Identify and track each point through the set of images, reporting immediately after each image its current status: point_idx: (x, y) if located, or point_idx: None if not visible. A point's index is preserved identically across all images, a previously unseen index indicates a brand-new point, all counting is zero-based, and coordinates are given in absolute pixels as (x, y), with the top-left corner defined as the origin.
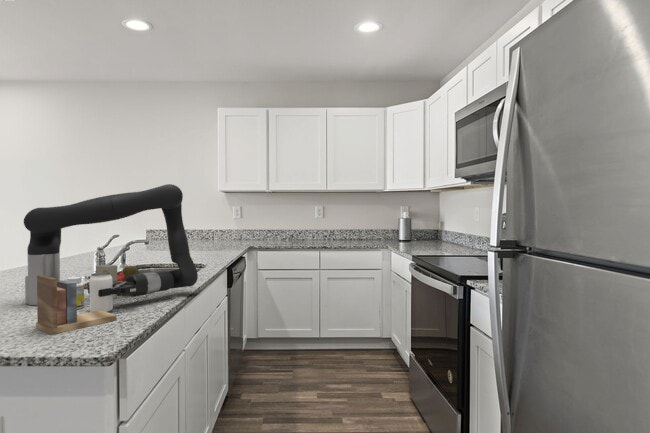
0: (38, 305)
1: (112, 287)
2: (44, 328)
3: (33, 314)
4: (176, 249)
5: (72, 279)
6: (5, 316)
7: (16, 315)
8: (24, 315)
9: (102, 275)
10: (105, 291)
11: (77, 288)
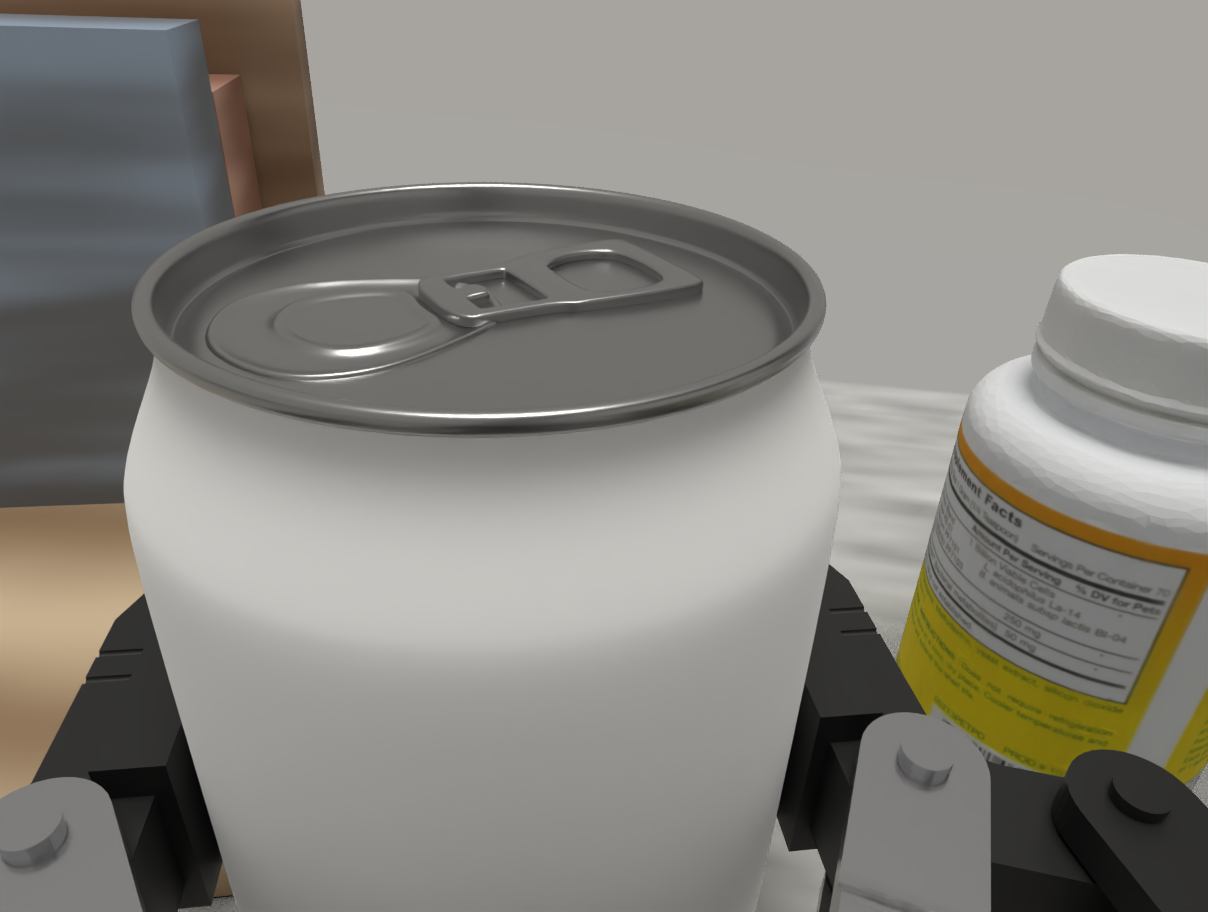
0: None
1: (112, 813)
2: None
3: (891, 478)
4: None
5: (1057, 286)
6: (928, 391)
7: (924, 422)
8: (889, 444)
9: (194, 247)
10: (109, 660)
11: (973, 480)
